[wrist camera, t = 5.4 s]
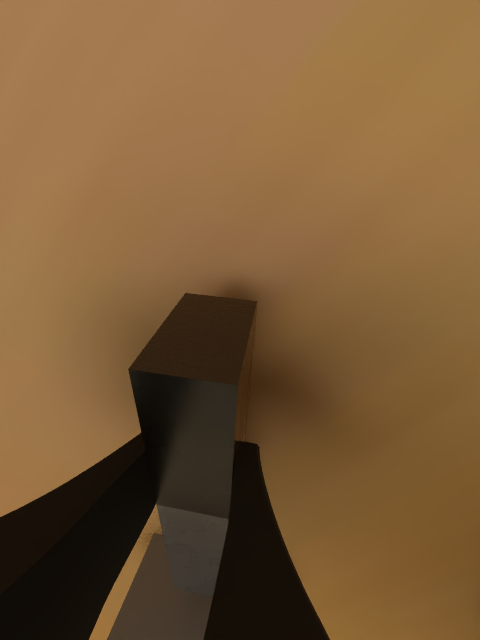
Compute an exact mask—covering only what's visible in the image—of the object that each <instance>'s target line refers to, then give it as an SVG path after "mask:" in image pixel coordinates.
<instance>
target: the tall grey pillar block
mask: <svg viewBox="0 0 480 640" xmlns="http://www.w3.org/2000/svg"><path fill="white" fill-rule="evenodd" d="M256 310H257V301H249V300H240V299H232V298H223V297H214V296H206V295H197V294H189V293H185V294H184V296H183V297H182V298H181V300H180V301H179V302H178V304H177V305H176V306H175V308H174V309H173V310H172V312H171V313H170V314H169V316H168V317H167V318H166V320H165V321H164V322H163V324H162V325H161V326H160V328H159V329H158V330H157V332H156V333H155V334H154V336H153V337H152V338H151V340H150V341H149V342H148V344H147V345H146V346H145V348H144V349H143V350H142V352H141V353H140V354H139V356H138V357H137V358H136V360H135V361H134V362H133V364H132V365H131V366H130V368H129V369H128V370H129V374H130V379H131V384H132V389H133V394H134V398H135V403H136V408H137V413H138V418H139V422H140V427H141V432H142V437H143V442H144V446H145V451H146V456H147V461H148V466H149V470H150V475H151V480H152V484H153V488H154V492H155V497H156V504H157V509H158V513H159V518H160V523H161V528H162V533H163V537H164V542H165V547H166V552H167V557H168V561H169V566H170V571H171V576H172V581H173V585H174V588H175V589H179V590H183V591H187V592H192V593H196V594H200V595H204V596H208V597H213V594H214V589H215V585H216V580H217V575H218V570H219V566H220V561H221V556H222V552H223V547H224V542H225V537H226V532H227V527H228V518H229V509H230V499H231V490H232V481H233V471H234V461H235V456H236V452H237V449H238V445H239V441H243V442H244V441H245V430H246V419H247V408H248V397H249V386H250V375H251V364H252V354H253V343H254V332H255V321H256Z"/></svg>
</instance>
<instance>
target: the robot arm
mask: <svg viewBox="0 0 480 640" xmlns="http://www.w3.org/2000/svg"><path fill="white" fill-rule="evenodd" d="M259 448H260V447H259V446H258V445H257V444H254V443H249V442H243V441H239V445H238V449H237V452H236V456H235V461H234V471H233V481H232V490H231V499H230V509H229V518H228V527H227V532H226V537H225V542H224V547H223V552H222V556H221V561H220V566H219V570H218V575H217V580H216V585H215V589H214V594H213V599H212V603H211V608H210V612H209V617H208V621H207V626H206V630H205V635H204V639H203V640H330V639H329V637H328V635H327V633H326V631H325V629H324V627H323V625H322V623H321V621H320V619H319V617H318V615H317V613H316V611H315V609H314V607H313V605H312V603H311V601H310V599H309V597H308V595H307V593H306V591H305V589H304V587H303V585H302V582H301V580H300V578H299V576H298V574H297V571H296V569H295V567H294V565H293V562H292V560H291V558H290V555H289V553H288V550H287V548H286V545H285V543H284V540H283V538H282V535H281V532H280V530H279V527H278V524H277V521H276V518H275V515H274V512H273V509H272V506H271V503H270V499H269V496H268V492H267V489H266V485H265V481H264V477H263V472H262V467H261V461H260V452H259ZM155 504H156V497H155V492H154V488H153V484H152V480H151V475H150V470H149V466H148V461H147V456H146V451H145V446H144V442H143V437H142V433H140V434H139V435H137V436H136V437H135V438H133V439H132V440H130V441H129V442H128V443H126V444H125V445H123V446H122V447H120V448H119V449H118V450H116V451H115V452H113V453H112V454H110V455H109V456H107V457H106V458H104V459H103V460H101V461H100V462H98V463H97V464H95V465H94V466H92V467H90V468H89V469H87V470H86V471H84V472H82V473H81V474H79V475H78V476H76V477H74V478H73V479H71V480H70V481H68V482H66V483H65V484H63V485H61V486H60V487H58V488H56V489H54V490H52V491H51V492H49V493H47V494H45V495H43V496H42V497H40V498H38V499H36V500H34V501H32V502H30V503H28V504H26V505H25V506H23V507H21V508H19V509H17V510H15V511H12V512H10V513H8V514H6V515H4V516H2V517H0V640H89V638H90V635H91V633H92V631H93V629H94V626H95V624H96V622H97V619H98V617H99V615H100V613H101V610H102V608H103V606H104V604H105V601H106V599H107V597H108V595H109V593H110V591H111V589H112V587H113V585H114V583H115V581H116V579H117V577H118V575H119V574H120V572H121V570H122V568H123V566H124V564H125V562H126V560H127V558H128V557H129V555H130V553H131V551H132V549H133V547H134V545H135V543H136V541H137V540H138V538H139V536H140V534H141V532H142V530H143V528H144V526H145V524H146V522H147V520H148V519H149V517H150V515H151V513H152V511H153V509H154V507H155Z"/></svg>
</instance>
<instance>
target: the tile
mask: <svg viewBox="0 0 480 640" xmlns="http://www.w3.org/2000/svg"><path fill="white" fill-rule="evenodd" d="M212 599H213V597H208V596H204V595H200V594H196V593H192V592H187V591H183V590H179V589H175V588H174V585H173V581H172V576H171V571H170V566H169V561H168V557H167V552H166V547H165V542H164V537H163V535H160V534H156V533H154V534H153V537H152V539H151V541H150V544H149V546H148V548H147V550H146V553H145V555H144V557H143V559H142V562H141V564H140V566H139V568H138V571H137V573H136V575H135V577H134V580H133V582H132V584H131V586H130V589H129V591H128V593H127V596H126V598H125V600H124V602H123V605H122V607H121V609H120V611H119V614H118V616H117V618H116V620H115V623H114V625H113V627H112V629H111V632H110V634H109V636H108V638H107V640H203V639H204V635H205V630H206V626H207V621H208V617H209V612H210V608H211V603H212Z"/></svg>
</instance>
